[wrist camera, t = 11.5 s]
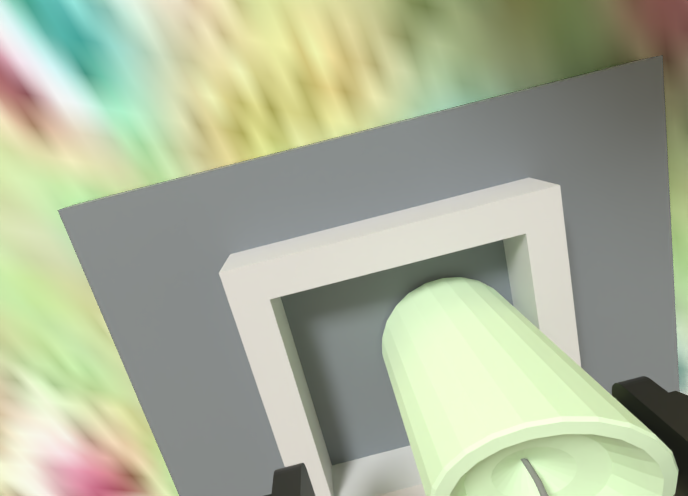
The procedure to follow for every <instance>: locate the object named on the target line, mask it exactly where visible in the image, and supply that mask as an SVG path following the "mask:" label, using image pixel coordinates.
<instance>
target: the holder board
mask: <svg viewBox="0 0 688 496" xmlns="http://www.w3.org/2000/svg"><path fill="white" fill-rule="evenodd" d="M58 212H59V214H60V217H61V219H62V221H63V224H64V226H65V228H66V231H67V233H68V235H69V238H70V240H71V242H72V245H73V247H74V250H75V252H76V254H77V257H78V259H79V261H80V264H81V266H82V268H83V271H84V273H85V275H86V278H87V280H88V282H89V285H90V287H91V289H92V292H93V294H94V296H95V299H96V301H97V304H98V306H99V308H100V311H101V313H102V315H103V318H104V320H105V322H106V325H107V327H108V329H109V332H110V334H111V336H112V339H113V341H114V343H115V346H116V348H117V350H118V353H119V355H120V358H121V360H122V362H123V365H124V367H125V369H126V372H127V374H128V376H129V379H130V381H131V383H132V386H133V388H134V390H135V393H136V395H137V397H138V400H139V402H140V404H141V407H142V409H143V411H144V414H145V416H146V419H147V421H148V423H149V426H150V428H151V430H152V433H153V435H154V437H155V440H156V442H157V444H158V447H159V449H160V451H161V454H162V456H163V458H164V461H165V463H166V465H167V468H168V470H169V473H170V475H171V477H172V480H173V482H174V484H175V487H176V489H177V491H178V494H179V496H264V495H268V494H271V493H272V484H273V475H274V471H275V470H276V469H280V468H284V467H288V466H292V465H296V464H299V463H304V464H305V466H306V469H307V472H308V475H309V478H310V481H311V484H312V487H313V490H314V493H315V496H426V494H425V491H424V488H423V485H422V481H421V478H420V475H419V472H418V468H417V465H416V462H415V459H414V455H413V452H412V449H411V446H410V443H409V439H408V436H407V433H406V430H405V426H404V423H403V420H402V417H401V413H400V410H399V407H398V404H397V400H396V397H395V394H394V391H393V388H392V384H391V381H390V378H389V375H388V371H387V368H386V365H385V362H384V358H383V355H382V336H383V333H384V329H385V326H386V322H387V320H388V318H389V317H390V315H391V313H392V311H393V310H394V308H395V306H396V305H397V304H398V303H399V302H400V301H401V300H402V299H403V298H404V297H405V296H406V295H407V294H408V293H410V292H411V291H413V290H415V289H416V288H418V287H420V286H421V285H423V284H425V283H428V282H431V281H434V280H438V279H441V278H451V277H464V278H468V279H473V280H478V281H480V282H482V283H484V284H486V285H488V286H490V287H492V288H494V289H495V290H496V291H497V292H498V293H499V294H500V295H501V296H503V297H504V298H505V299H506V300H507V301H508V302H509V303H510V304H511V305H512V306H514V307H515V308H516V309H517V310H518V311H519V312H520V313H521V314H522V315H524V316H525V317H526V318H527V319H528V320H529V321H530V322H531V323H532V324H533V325H535V326H536V327H537V328H538V329H539V330H540V331H541V332H542V333H543V334H545V335H546V336H547V337H548V338H549V339H550V340H551V341H552V342H553V343H554V344H556V345H557V346H558V347H559V348H560V349H561V350H562V351H563V352H564V353H566V354H567V355H568V356H569V357H570V358H571V359H572V360H573V361H574V362H575V363H577V364H578V365H579V366H580V367H581V368H582V369H583V370H584V371H585V372H587V373H588V374H589V375H590V376H591V377H592V378H593V379H594V380H595V381H596V382H598V383H599V384H600V385H601V386H602V387H603V388H604V389H605V390H606V391H608V392H609V393H610V394H611V395H612V386H613V384H614V383H618V382H622V381H626V380H629V379H633V378H637V377H641V376H646V377H648V378H650V379H651V380H653V381H654V382H655V383H657V384H658V385H659V386H661V387H662V388H663V389H665V390H666V391H667V392H668V393H669V392H673V391H678V392H679V374H678V354H677V334H676V314H675V294H674V274H673V254H672V235H671V215H670V195H669V175H668V155H667V135H666V115H665V95H664V75H663V55H661V56H656V57H651V58H645V59H640V60H637V61H633V62H629V63H625V64H621V65H617V66H613V67H609V68H605V69H601V70H598V71H594V72H590V73H586V74H582V75H578V76H574V77H570V78H566V79H562V80H559V81H555V82H551V83H547V84H543V85H539V86H535V87H531V88H527V89H523V90H520V91H516V92H512V93H508V94H504V95H500V96H496V97H492V98H488V99H484V100H481V101H477V102H473V103H469V104H465V105H461V106H457V107H453V108H449V109H445V110H442V111H438V112H434V113H430V114H426V115H422V116H418V117H414V118H410V119H406V120H403V121H399V122H395V123H391V124H387V125H383V126H379V127H375V128H371V129H367V130H364V131H360V132H356V133H352V134H348V135H344V136H340V137H336V138H332V139H328V140H325V141H321V142H317V143H313V144H309V145H305V146H301V147H297V148H293V149H289V150H286V151H282V152H278V153H274V154H270V155H266V156H262V157H258V158H254V159H250V160H247V161H243V162H239V163H235V164H231V165H227V166H223V167H219V168H215V169H211V170H208V171H204V172H200V173H196V174H192V175H188V176H184V177H180V178H176V179H173V180H169V181H165V182H161V183H157V184H153V185H149V186H145V187H141V188H137V189H134V190H130V191H126V192H122V193H118V194H114V195H110V196H106V197H102V198H98V199H95V200H91V201H87V202H83V203H79V204H75V205H72V206H69V207H66V208H63V209H60V210H58Z"/></svg>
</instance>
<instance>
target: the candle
mask: <svg viewBox="0 0 688 496" xmlns="http://www.w3.org/2000/svg"><path fill="white" fill-rule="evenodd" d="M382 355H383V358H384V362H385V365H386V368H387V371H388V375H389V378H390V381H391V384H392V388H393V391H394V394H395V397H396V400H397V404H398V407H399V410H400V413H401V417H402V420H403V423H404V426H405V430H406V433H407V436H408V439H409V443H410V446H411V449H412V452H413V455H414V459H415V462H416V465H417V468H418V472H419V475H420V478H421V481H422V485H423V488H424V491H425V494H426V496H674V494H675V491H676V485H677V478H678V471H679V470H678V467H677V464H676V461H675V458H674V455H673V452H672V451H671V450H670V449H669V448H668V447H667V446H666V445H665V444H664V443H663V442H662V441H661V440H660V439H659V438H658V437H657V436H656V435H655V434H654V433H653V432H652V431H651V430H650V429H648V428H647V427H646V426H645V425H644V424H643V423H642V422H641V421H640V420H638V419H637V418H636V417H635V416H634V415H633V414H632V413H631V412H630V411H629V410H627V409H626V408H625V407H624V406H623V405H622V404H621V403H620V402H619V401H617V400H616V399H615V398H614V397H613V396H612V395H611V394H610V393H609V392H608V391H606V390H605V389H604V388H603V387H602V386H601V385H600V384H599V383H598V382H596V381H595V380H594V379H593V378H592V377H591V376H590V375H589V374H588V373H587V372H585V371H584V370H583V369H582V368H581V367H580V366H579V365H578V364H577V363H575V362H574V361H573V360H572V359H571V358H570V357H569V356H568V355H567V354H566V353H564V352H563V351H562V350H561V349H560V348H559V347H558V346H557V345H556V344H554V343H553V342H552V341H551V340H550V339H549V338H548V337H547V336H546V335H545V334H543V333H542V332H541V331H540V330H539V329H538V328H537V327H536V326H535V325H533V324H532V323H531V322H530V321H529V320H528V319H527V318H526V317H525V316H524V315H522V314H521V313H520V312H519V311H518V310H517V309H516V308H515V307H514V306H512V305H511V304H510V303H509V302H508V301H507V300H506V299H505V298H504V297H503V296H501V295H500V294H499V293H498V292H497V291H496V290H495V289H494V288H492V287H490V286H488V285H486V284H484V283H482V282H480V281H478V280H473V279H468V278H464V277H451V278H441V279H438V280H434V281H431V282H428V283H425V284H423V285H421V286H420V287H418V288H416V289H415V290H413V291H411V292H410V293H408V294H407V295H406V296H405V297H404V298H403V299H402V300H401V301H400V302H399V303H398V304H397V305H396V306H395V308H394V310H393V311H392V313H391V315H390V317H389V318H388V320H387V322H386V326H385V329H384V333H383V336H382Z"/></svg>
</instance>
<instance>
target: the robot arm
mask: <svg viewBox="0 0 688 496" xmlns="http://www.w3.org/2000/svg"><path fill="white" fill-rule="evenodd" d="M612 396H613V397H614V398H615V399H616V400H617V401H619V402H620V403H621V404H622V405H623V406H624V407H625V408H626V409H627V410H629V411H630V412H631V413H632V414H633V415H634V416H635V417H636V418H637V419H638V420H640V421H641V422H642V423H643V424H644V425H645V426H646V427H647V428H648V429H650V430H651V431H652V432H653V433H654V434H655V435H656V436H657V437H658V438H659V439H660V440H661V441H662V442H663V443H664V444H665V445H666V446H667V447H668V448H669V449H670V450H671V451H672V452H673V455H674V458H675V461H676V464H677V467H678V470H679V471H678V478H677V485H676V491H675V494H674V496H688V395H685V394H683V393H680V392H678V391H673V392H669V393H668V392H667V391H666V390H665V389H663V388H662V387H661V386H659V385H658V384H657V383H655V382H654V381H653V380H651V379H650V378H648V377H646V376H641V377H637V378H633V379H629V380H626V381H622V382H618V383H614V384H613V386H612ZM264 496H315V493H314V490H313V487H312V484H311V481H310V478H309V475H308V472H307V469H306V466H305V464H304V463H299V464H296V465H292V466H288V467H284V468H280V469H276V470H275V471H274V475H273V484H272V493H271V494H268V495H264Z"/></svg>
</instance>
